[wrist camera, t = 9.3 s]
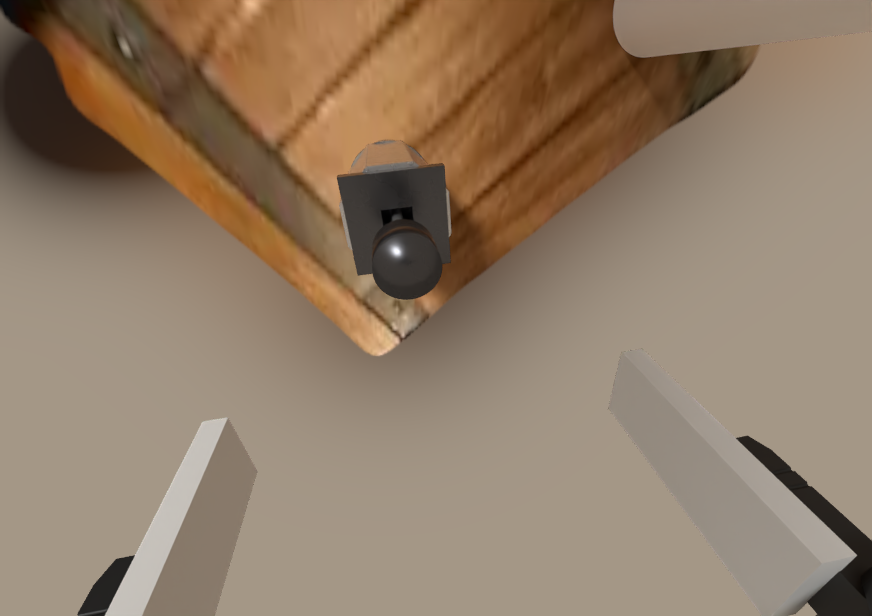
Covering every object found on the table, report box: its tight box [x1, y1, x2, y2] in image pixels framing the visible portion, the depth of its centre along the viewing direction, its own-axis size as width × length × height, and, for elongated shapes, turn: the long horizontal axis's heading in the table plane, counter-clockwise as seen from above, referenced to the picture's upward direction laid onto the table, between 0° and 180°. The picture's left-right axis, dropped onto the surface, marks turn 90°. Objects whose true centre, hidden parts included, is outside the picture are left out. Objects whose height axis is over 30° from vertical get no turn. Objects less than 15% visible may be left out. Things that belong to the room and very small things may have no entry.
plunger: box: [372, 207, 442, 300], centre depth 31 cm, size 7×7×20 cm
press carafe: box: [337, 140, 451, 275], centre depth 38 cm, size 12×10×15 cm
